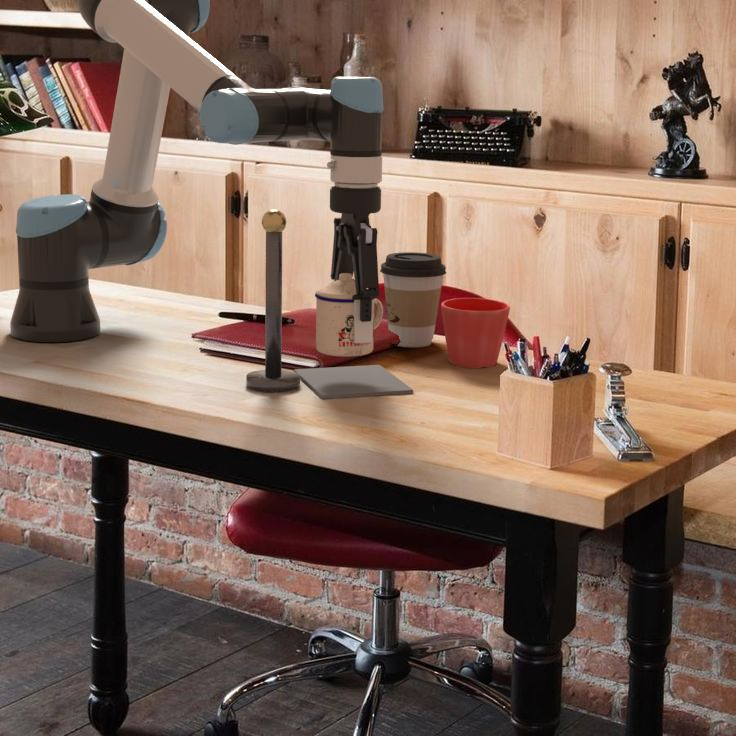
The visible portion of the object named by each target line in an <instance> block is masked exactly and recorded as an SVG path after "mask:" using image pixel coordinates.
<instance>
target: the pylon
mask: <svg viewBox="0 0 736 736" xmlns="http://www.w3.org/2000/svg"><path fill="white" fill-rule="evenodd" d="M287 222H288V221H287V217H286V215H285V214H284V212H282V211H280V209H279V210H278V209H269V210H267V211H266V212H265V213H264V214H263V215H262V218H261V226H262V228H263V230H264V231H265V309H264V311H265V316H264V318H265V321H264V322H265V324H264V325H265V327H264V329H265V335H264V338H265V341H264V342H265V345H264V347H265V350H264V352H265V353H264V354H265V355H264V356H265V357H264V359H265V360H264V363H265V365H264V366H265V367H264V369H259V370H254V371H251V372H248V373H247V374H246V377H245V378H246V381H245V384H246V386H245V387H246V388H248V389H250V390H252V391H256V392H260V393H287V392H291V391H295V390H298V389H299V388H301V379H300V375H299V374H298V373H296V372H294V371H293V370H285V369H282V355H283V354H282V352H283V351H282V348H283V346H282V345H283V342H282V341H283V340H282V334H283V331H282V330H283V329H282V327H283V325H282V322H283V317H282V315H283V312H282V310H283V304H282V303H283V232H284V231H285V229H286V228H287V224H288V223H287Z"/></svg>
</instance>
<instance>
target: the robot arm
mask: <svg viewBox="0 0 736 736" xmlns="http://www.w3.org/2000/svg"><path fill="white" fill-rule="evenodd" d="M210 2H211V1H210V0H76V4H77V8H78V12H79V13H80V16H81V18H82V19H83V20H84V22H85V23H86V24H87V26H89V28H90V29H91V30H92V31H93V32H94V33H96V34H97V35H98V36H99V37H101V39H102V40H104V41H106V42H109V43H114V44H115V43H116V44H119V45H120V46H121V47H122V48H123V54H122V60H121V61H122V62H121V67H120V71H119V72H120V73H119V80H118V86H117V90H116V91H117V92H116V96H115V103H114V108H113V114H112V119H111V126H110V132H109V138H108V145H107V151H106V156H105V163H104V168H103V173H102V174H103V175H102V177H101V178H100V179H98V180H96V181H95V182H94V183H93V184H92V187H91V191H90V198H89V201H87V199H86V197H84V195H80V194H74V193H73V194H71V193H70V194H69V193H67V194H66V193H65V194H58V195H56V194H55V195H53V194H52V195H46V196H41V197H40V196H39V197H36V198H32V199H30V200H27V201H25V202H23V203H22V204H21V205H20V206H19V208H18V209H17V212H16V227H15V234H16V237H17V238H16V240H17V263H18V265H17V266H18V284H19V287H18V288H19V291H18V294H17V298H16V301H15V304H14V308H13V312H12V314H11V318H10V325H9V326H10V336H11V337H13V338H14V339H17V340H22V341H27V342H36V343H65V342H76V341H81V340H82V341H83V340H87V339H91V338H93V337H94V338H95V337H96V336H98V335H100V334H101V318H100V316H99V314H98V313H99V312H98V310H97V307H96V305H95V301H94V300H93V296H92V294H91V291H90V283H89V280H90V279H89V273H90V272H89V270H93V269H102V268H109V267H118V266H134V265H136V264H138V263H142V262H147V261H149V260H151V259H152V258H154V257H155V256H156V255H158V253H159V252H160V251H161V249H162V248H163V246H164V244H165V241H166V237H167V232H168V222H167V220H166V219H165V217H166V213H165V210H164V207H163V206H162V204H160V202H159V200H160V199H159V197H160V196H159V195H158V194H157V192H156V191H155V189H154V188H153V182H154V179H155V178H154V177H155V172H156V167H157V161H158V155H159V152H160V145H161V139H162V134H163V128H164V124H165V119H166V113H167V107H168V104H169V103H168V102H169V96H170V91H171V89H172V90H173V91H174V92H175V93H176V94H178V95H179V96H180V97H181V98H183V100H185V101H186V102H187V103H188V104H190V105H191V106H192V107H193V108H194V109H195V110H197V112H199V121H200V125H201V127H203V129H204V134H205V136H206V137H208V139H210V140H211V141H213V142H215V143H217V144H230V145H234V146H235V145H236V146H237V145H243V144H252V143H254V144H255V143H263V142H264V143H265V142H267V143H268V142H287V141H288V142H289V141H291V142H292V141H320V142H321V141H324V142H329V145H330V147H329V148H330V153H329V154H330V161H329V162H327V163H326V167H327V169H330V175H329V176H330V181H331V183H334V184H333V185H331V187H330V188H329V210H330V211H332V213H333V212H334V213H337V214H340V215H341V217H339V216H338V217H334V219H333V244H332V256H331V257H332V258H331V269H330V279H331V281H332V280H333V281H336V280H339V275H340V274H341V273H350V274H352V276H353V277H354V278H353V279H352V280H354V281H355V286H356V294H357V295H353V296H352V299H353V300H354V343H371V342H373V299H376V298H378V297H379V296H380V285H379V284H380V283H379V263H378V249H377V248H378V246H377V244H378V233H379V232H378V229H377V227H375V228H374V227H372V225H370V218H369V217H370V214H375V213H379V212H380V211H381V209H382V188H381V187H380V186H378V185H379V184H380V183H382V181H383V154H382V153H383V151H382V148H383V147H382V146H383V145H382V144H383V140H382V139H383V121H384V111H385V106H384V96H383V95H384V94H383V84H382V81H381V80H380V79H379V78H377V77H374V76H335V77H333V78H332V80H331V83H330V85H331V86H330V89H320V88H310V87H309V88H307V87H302V86H297V87H293V86H292V87H283V88H253V87H252V86H250V85H249V84H248V83H246V82H245V81H243V80H242V79H241V78H240V77H238V76H237V75H236V74H234V73H233V72H232V71H231V70H230V69H228V68H227V67H226V66H225V65H223V64H222V63H221V62H220V61H219V60H217V58H215V57H214V56H213V55H212V54H210V53H209V52H208V51H206V50H205V49H204V48H203V47H202V46H200V45H199V44H198V43H197V42H196V41H194V39H192V38H191V37H190V35H191V34H193V33H196V32H197V31H199V30H201V29H202V27H203V26H205V24H206V23H207V20H208V18H209V14H210V9H211V8H210V7H211V3H210ZM366 288H368V289H366ZM375 297H376V298H375ZM373 343H374V342H373Z"/></svg>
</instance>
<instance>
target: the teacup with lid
mask: <svg viewBox="0 0 736 736" xmlns="http://www.w3.org/2000/svg"><path fill="white" fill-rule="evenodd" d="M353 277H354V275H353V276H352V274H350V273H341V274H340V275H339V280H336V281H334V280H333V281H331V282H330V283H329V284H327V285H324V286H320V287H318V288H317V290H316V291H315V293H314V296H315V300H316V302H315V303H316V305H315V306H316V310H315V311H316V313H315V314H316V315H315V316H316V317H315V321H316V323H315V349H316V351H317V352H319V353H320V354H323V355H327V356H331V357H332V356H333V357H343V358H344V357H345V358H347V357H359V356H360V357H361V356H365V355H368V354H370V353H372V352H373V350H374V341H375V340H374V333H375V330H376V329H377V328H378V327H379V326H380V324H381V322H382V319H383V316H384V306H383V304H382V302H381V301H380V300H379V299H378V298H377V297H375V299H373V342H371V343H354V300H353V299H352V296H353V295H357V294H356V286H355V281H354V280H355V279H354V278H353ZM352 279H354V280H352ZM366 289H368V288H366Z"/></svg>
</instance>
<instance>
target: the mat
mask: <svg viewBox="0 0 736 736" xmlns="http://www.w3.org/2000/svg"><path fill="white" fill-rule="evenodd" d="M293 372H296V373H298V374H299V375H300V381H302V382H303V383H305V385H307V386H308V388H309V389H310V390H312V391H313V393H315V394H316V396H318V397H319V398H320V399H322V400H324V399H325V400H326V399H339V398H340V399H341V398H355V397H356V398H358V397H371V396H372V397H373V396H387V395H404V394H414V389H413V388H411V386H409V385H407V384H406V383H405V382H403V381H402V380H401V379H400V378H398V377H397V376H395V375H394V374H393V373H391V372H390V371H389V370H387V369H386V368H385V367H383V366H382V365H380V364H369V365H354V366H353V365H351V366H348V365H347V366H335V367H333V366H332V367H315V368H314V367H313V368H295V369H293Z"/></svg>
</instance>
